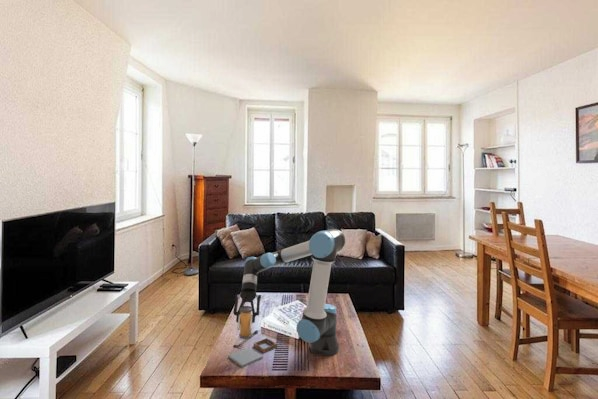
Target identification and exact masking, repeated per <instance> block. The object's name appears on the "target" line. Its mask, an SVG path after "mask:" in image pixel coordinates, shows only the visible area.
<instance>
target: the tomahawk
mask: <svg viewBox="0 0 598 399" xmlns="http://www.w3.org/2000/svg"><path fill="white" fill-rule="evenodd" d="M258 333H259V330H258V329H257V330H255V331H254V332H253V333H252V337H254V336H256V334H258ZM252 337H251V338H252ZM251 338H249V339H243V341H241V342H240V343H238V344H234V345H233V348H236V349H238V350H242V347H243V344H245V343H246V342H248V341H249V340H250V339H251Z"/></svg>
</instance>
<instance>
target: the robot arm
mask: <svg viewBox="0 0 598 399" xmlns="http://www.w3.org/2000/svg"><path fill="white" fill-rule="evenodd" d="M345 244H346V237H345V235H344V233H343V232H342V231H341V230H340V229H337V228H329V229H326V230H320V231H319V230H318V231H317V232H315V233H314V234H313V235H312V236H311V238H310V239H309V240H307V241H304V242H300V243H298V244H294V245H292V246H288V247H286V248H283V249H279V250H277V251H274V252H266V253H263V254H262V255H260V256H258V257H255V256H248V257H246V259H245V261H244V264H243V265H244V266H243V267H244V268H243V277H242V284H241V291H240V293H239V294H235V295H234V297H235V298H234V299H235V300H234V306H233V312H232V313H233V315H234V316H236V319H235V322H236V323H237V331H240V307H243V306H245V304H246V303H250V307H252V311H251V320H250V330H251V331H252V329H253V324H255V322H256V317H257V316H259V315H260V306H261V300H262V295H261V294H257V284H258V274H259V273H261V272H263V271H265V270H268V269H270V268H273V267H276V266H278V265H282V264H286V263H288V262H289V263H290V262H292V261H296V260H298V259H302V258H305V257H309V256H311V257H310V258H311V259H312V261H313V265H312V270H311V278H310V284H309V289H308V296H307V303H306V307H304V308H303V310H302V315H301V319H299V321H298V322H297V323H296V333H297V334H298V336H299V337H300V339H301V340H302V341H304V342H305V343H309V344H310V345H309V348H310V351H311V352H312V353H314V354H316V355H319V356H334V355H336V354H338V352H339V351H340V344H339V341H338V338H337V337H338V336H337V314H338V313H337V312H338V311H337V307H336V306H335V305H333V304H330V303H326V301H327V296H328V288H329V282H330V277H331V276H330V275H331V270H332V264H334V263H335V262H336V259H337V253H338V252H340V251H341V250H342V249H344V247H345ZM255 298H256V310H255V306H254V300H255ZM240 299H241V303H240V305H239V300H240ZM238 305H239V308H238Z"/></svg>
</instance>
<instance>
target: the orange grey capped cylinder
mask: <svg viewBox="0 0 598 399" xmlns="http://www.w3.org/2000/svg"><path fill="white" fill-rule="evenodd" d="M239 307H240V306H239ZM251 315H252V307H251V305H244V306H243V307H240V330H239V334H238V335H239V336H238V338H239V339H242V340H245V339H249V338H250V339H251V338H252V334H253V333H252V330H250V320H251ZM250 339H249V340H250Z"/></svg>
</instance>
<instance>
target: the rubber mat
mask: <svg viewBox="0 0 598 399" xmlns="http://www.w3.org/2000/svg"><path fill="white" fill-rule="evenodd" d="M228 358H229V359H230V360H232V361H233V362H234V363H236V364H237V365H238V366H240V367H241V368H244V367H247V366H248V365H251V364H253V363H255V362H257V361H260V360H262V359H263V358H264V357H263V355H261V354H260V353H258V352H256V350H254V349H252V348H251V347H245V348H243V349H239V350H238V351H235V352H233V353H231V354H229V355H228Z"/></svg>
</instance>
